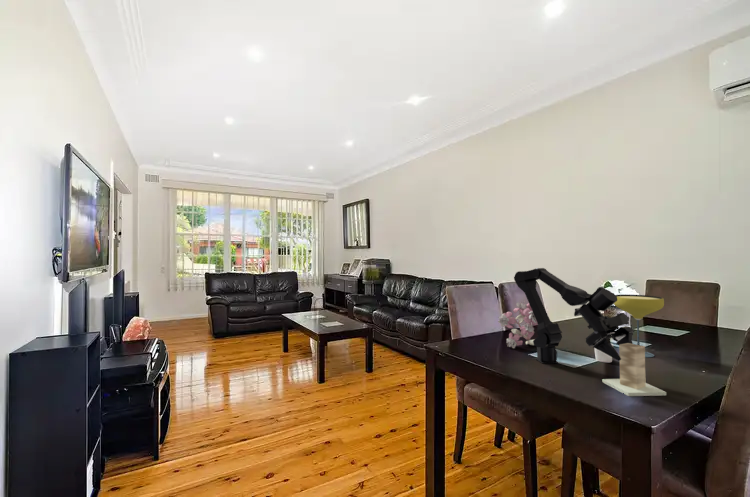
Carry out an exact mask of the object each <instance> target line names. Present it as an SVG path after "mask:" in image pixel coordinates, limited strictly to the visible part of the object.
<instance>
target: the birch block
mask: <svg viewBox="0 0 750 497" xmlns="http://www.w3.org/2000/svg"><path fill="white" fill-rule="evenodd" d="M645 352H646V346H645V345H637V343H636V344H635V343H633V344H631V343H625V344H620V345H618V354H619V356H620V358H621V360H619V379H620V384H621V385H624V386H628V387H631V388H634V389H639V388H643V387H646V383H647V382H646V380H647V379H646V358H645Z"/></svg>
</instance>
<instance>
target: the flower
mask: <svg viewBox="0 0 750 497" xmlns="http://www.w3.org/2000/svg"><path fill="white" fill-rule="evenodd" d="M540 299H541V301H542V298H541V297H540ZM525 302H526V300H525V299H524V300H523V302H522V301H521V302H516V307H515V308H514V309H513V312H512V311H507V312H504V313H502V314H501V316H498V317H497V318H498V321H497V322H498V324H500V326H501V327H502V328H503V327H506V328H508V329H511V330H510V331H511V332H509V334H508V338H506V345H507V347H509V348H511V349H516V346H523V342H524V341H523V340H520V338H524V339H525V340H526V341H525V345H530V346H534V343H533V340H535V339H536V338H534V339H531V338H532V337H533V336H534V335H535V333H536V332H535V331H534V330H535V328H534V326H538V323H537V321H536V318H535V316H534V314H533V311H532V309H531V307H530V304H529V302H528V303H525ZM513 313H514V314H516V313H518V315H517V316H516V317H514V316H513ZM524 322H525V323H524ZM522 323H524V324H523V325H522V326H521V324H522ZM516 324H517V326H518V327H519V329H517V328H514V326H513V325H516Z"/></svg>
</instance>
